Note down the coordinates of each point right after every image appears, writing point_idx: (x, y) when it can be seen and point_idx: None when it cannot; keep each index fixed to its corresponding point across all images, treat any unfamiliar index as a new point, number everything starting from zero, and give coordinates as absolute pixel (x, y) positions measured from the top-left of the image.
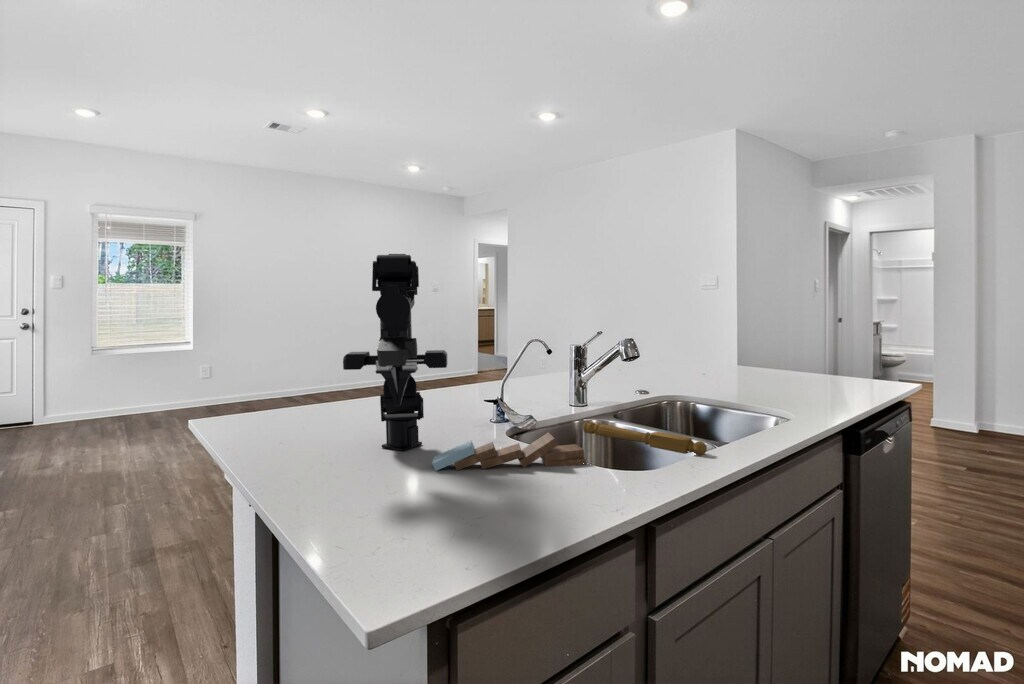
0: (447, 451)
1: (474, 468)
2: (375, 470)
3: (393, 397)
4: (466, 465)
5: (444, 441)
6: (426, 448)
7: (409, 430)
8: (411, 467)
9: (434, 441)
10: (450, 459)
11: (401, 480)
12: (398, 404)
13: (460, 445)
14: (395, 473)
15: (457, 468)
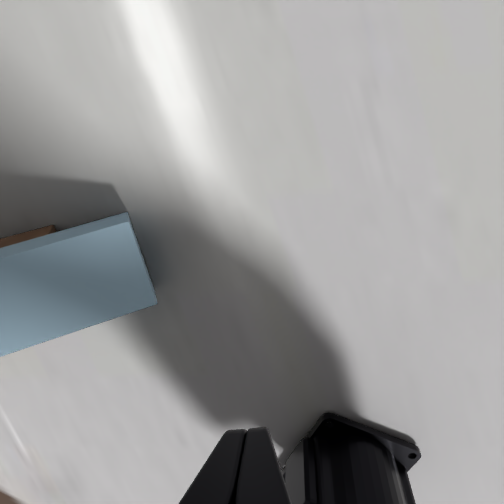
0: (92, 313)
1: None
2: (375, 205)
3: (278, 495)
4: (8, 237)
5: None
6: None
7: (310, 494)
8: (238, 249)
9: None
10: (51, 238)
11: (222, 83)
12: (236, 433)
13: (32, 336)
14: (279, 173)
15: (47, 228)
